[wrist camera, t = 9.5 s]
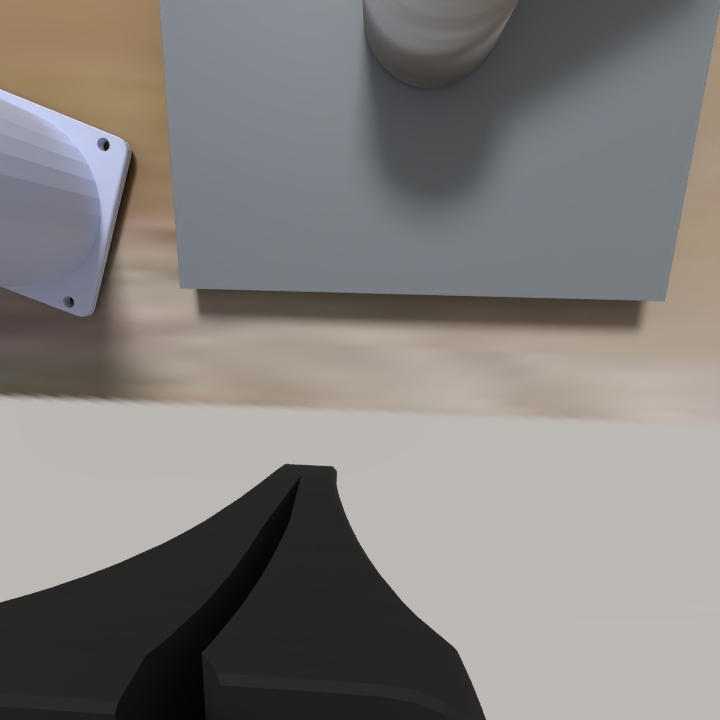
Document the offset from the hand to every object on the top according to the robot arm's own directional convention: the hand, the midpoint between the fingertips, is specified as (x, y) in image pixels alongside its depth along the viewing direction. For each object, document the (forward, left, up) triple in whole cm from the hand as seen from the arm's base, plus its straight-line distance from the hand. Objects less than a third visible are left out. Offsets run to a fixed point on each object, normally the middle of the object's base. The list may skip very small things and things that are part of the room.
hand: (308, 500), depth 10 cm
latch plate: (-2, +15, -9) cm, 18 cm away
